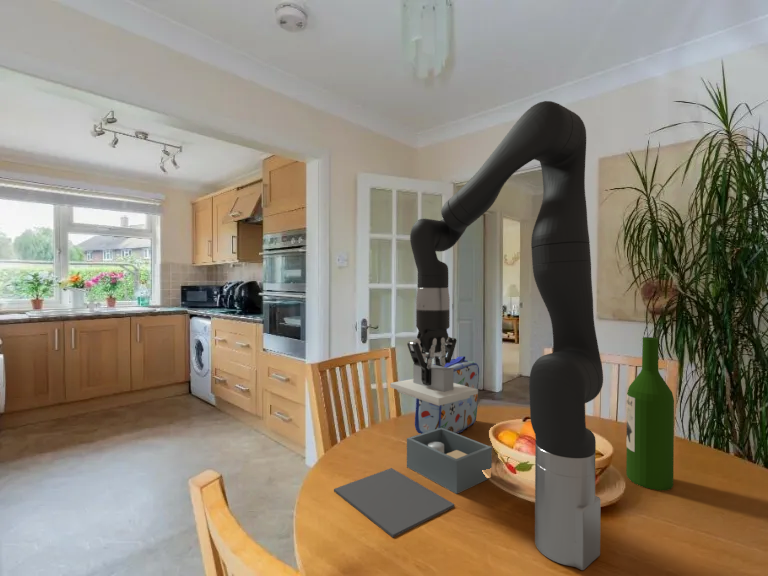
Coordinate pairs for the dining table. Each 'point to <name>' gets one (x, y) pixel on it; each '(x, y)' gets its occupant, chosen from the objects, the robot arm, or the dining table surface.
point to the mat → (393, 501)
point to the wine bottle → (650, 424)
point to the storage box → (449, 459)
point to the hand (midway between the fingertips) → (432, 383)
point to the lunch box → (453, 413)
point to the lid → (434, 386)
